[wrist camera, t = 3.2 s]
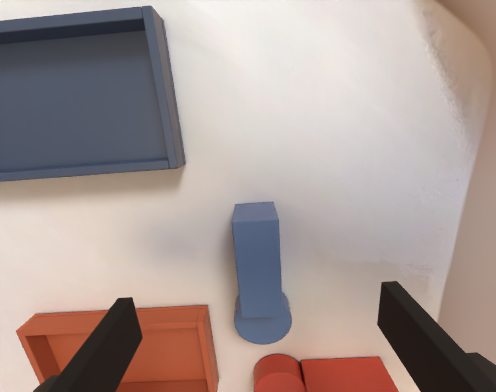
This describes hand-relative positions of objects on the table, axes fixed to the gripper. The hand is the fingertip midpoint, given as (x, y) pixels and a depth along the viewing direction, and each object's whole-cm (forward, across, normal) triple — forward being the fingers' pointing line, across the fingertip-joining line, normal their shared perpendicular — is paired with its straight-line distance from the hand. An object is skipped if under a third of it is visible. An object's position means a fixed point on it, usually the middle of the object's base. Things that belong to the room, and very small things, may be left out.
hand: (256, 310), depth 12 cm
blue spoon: (+7, 0, -2) cm, 7 cm away
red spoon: (+7, +5, -14) cm, 17 cm away
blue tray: (+7, -13, +12) cm, 19 cm away
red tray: (+7, -13, -10) cm, 18 cm away
